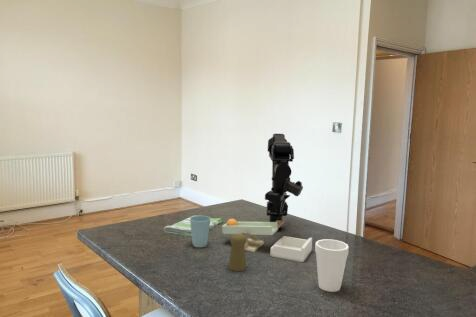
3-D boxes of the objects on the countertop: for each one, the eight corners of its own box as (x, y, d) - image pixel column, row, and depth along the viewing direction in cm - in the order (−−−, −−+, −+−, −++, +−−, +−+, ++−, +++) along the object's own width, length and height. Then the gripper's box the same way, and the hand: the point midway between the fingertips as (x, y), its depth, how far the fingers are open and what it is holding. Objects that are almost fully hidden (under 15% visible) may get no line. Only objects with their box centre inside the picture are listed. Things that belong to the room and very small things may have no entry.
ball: (229, 227, 150) (229, 217, 150) (239, 227, 149) (238, 217, 148) (225, 230, 147) (224, 219, 146) (234, 230, 145) (234, 220, 145)
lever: (239, 222, 161) (239, 215, 160) (285, 222, 152) (284, 215, 152) (222, 233, 146) (221, 226, 146) (272, 234, 137) (271, 226, 137)
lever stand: (245, 239, 152) (245, 223, 151) (264, 243, 149) (264, 226, 148) (234, 248, 142) (234, 231, 141) (254, 252, 139) (254, 234, 138)
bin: (280, 245, 147) (281, 232, 146) (311, 250, 142) (312, 237, 141) (270, 256, 136) (270, 242, 135) (303, 262, 131) (304, 248, 130)
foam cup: (339, 297, 107) (342, 253, 105) (308, 288, 112) (310, 246, 110) (349, 284, 115) (352, 243, 113) (319, 276, 120) (322, 237, 118)
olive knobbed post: (248, 265, 128) (249, 233, 126) (243, 272, 122) (244, 239, 120) (231, 262, 129) (232, 231, 128) (225, 269, 124) (226, 236, 122)
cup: (205, 240, 150) (205, 214, 149) (213, 246, 144) (214, 219, 142) (186, 243, 146) (187, 216, 145) (194, 249, 140) (195, 222, 138)
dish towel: (162, 232, 160) (162, 224, 159) (191, 218, 181) (191, 211, 180) (197, 239, 153) (197, 230, 152) (223, 224, 173) (224, 216, 173)
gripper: (294, 180, 136) (292, 223, 138) (307, 173, 153) (305, 211, 155) (265, 177, 141) (263, 218, 143) (280, 170, 158) (279, 207, 160)
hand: (279, 213), depth 150 cm, fingers closed
